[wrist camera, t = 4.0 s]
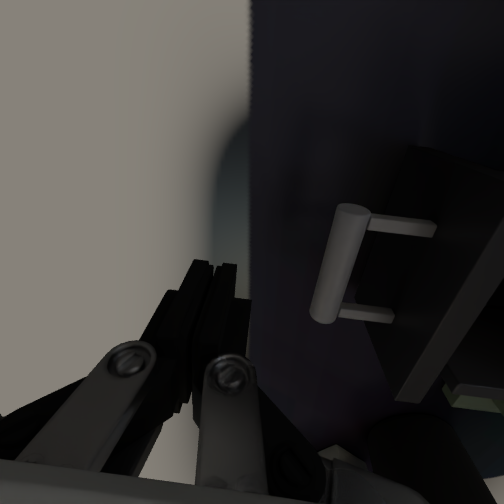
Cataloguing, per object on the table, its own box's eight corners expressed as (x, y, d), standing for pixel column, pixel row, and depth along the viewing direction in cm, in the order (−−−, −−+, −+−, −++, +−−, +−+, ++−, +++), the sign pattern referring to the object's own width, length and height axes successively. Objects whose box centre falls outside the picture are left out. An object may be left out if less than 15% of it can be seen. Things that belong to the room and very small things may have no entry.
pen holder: (375, 463, 33) (411, 596, 24) (351, 419, 29) (383, 559, 20) (463, 450, 30) (539, 594, 21) (449, 400, 26) (535, 552, 17)
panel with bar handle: (295, 290, 20) (306, 389, 13) (330, 136, 15) (375, 170, 8) (528, 318, 20) (660, 435, 13) (645, 172, 15) (966, 238, 8)
